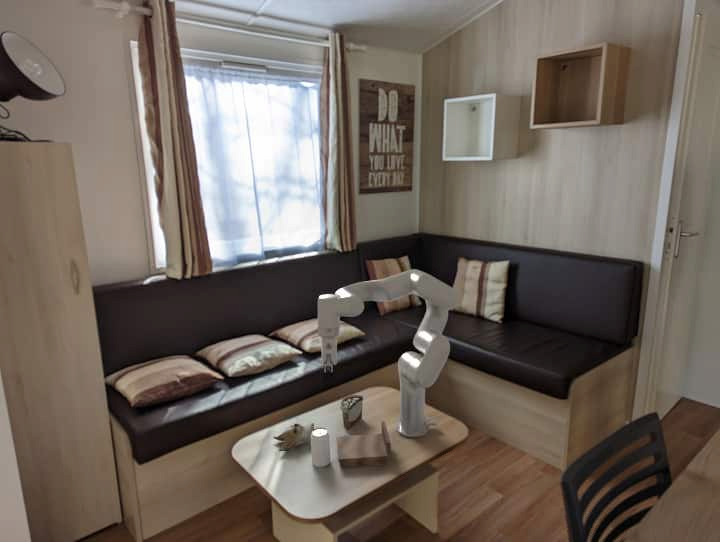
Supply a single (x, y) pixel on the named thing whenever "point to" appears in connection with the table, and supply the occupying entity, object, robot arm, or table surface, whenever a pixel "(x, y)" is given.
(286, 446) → the ceramic sculpture
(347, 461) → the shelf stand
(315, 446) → the can
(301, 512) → the table surface
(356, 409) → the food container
